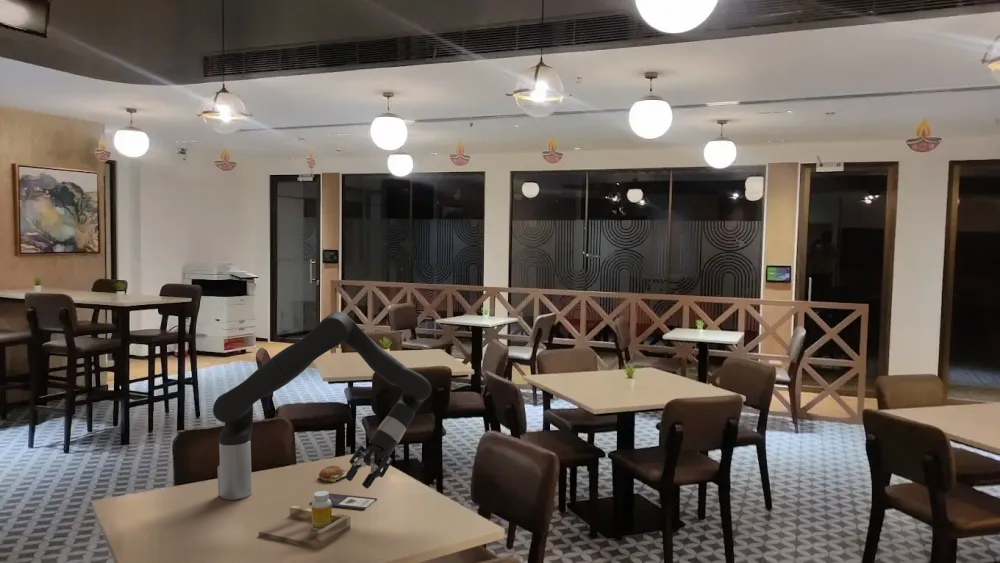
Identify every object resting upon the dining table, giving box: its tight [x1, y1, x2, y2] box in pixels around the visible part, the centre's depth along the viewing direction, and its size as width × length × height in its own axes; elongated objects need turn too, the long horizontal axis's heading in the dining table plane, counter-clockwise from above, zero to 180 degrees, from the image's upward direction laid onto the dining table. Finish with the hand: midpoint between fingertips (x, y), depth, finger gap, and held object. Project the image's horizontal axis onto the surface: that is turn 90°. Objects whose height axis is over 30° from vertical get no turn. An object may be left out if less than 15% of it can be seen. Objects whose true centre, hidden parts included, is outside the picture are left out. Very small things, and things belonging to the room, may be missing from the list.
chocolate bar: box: [309, 492, 378, 511], centre depth 216 cm, size 9×1×18 cm
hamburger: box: [318, 465, 347, 483], centre depth 238 cm, size 14×14×6 cm
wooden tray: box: [258, 505, 351, 550], centre depth 193 cm, size 20×14×4 cm
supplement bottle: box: [310, 490, 333, 531], centre depth 193 cm, size 5×5×10 cm
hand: (356, 483), depth 201 cm, fingers open, 8 cm apart
